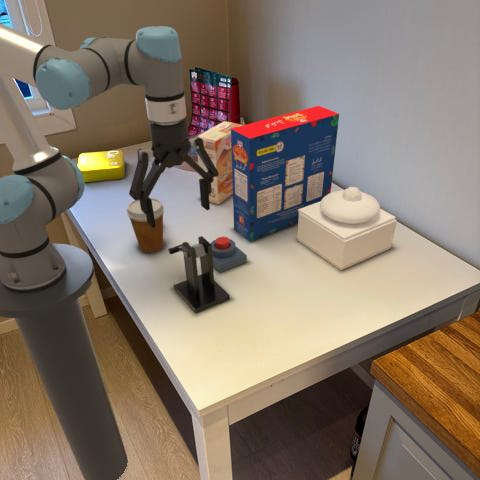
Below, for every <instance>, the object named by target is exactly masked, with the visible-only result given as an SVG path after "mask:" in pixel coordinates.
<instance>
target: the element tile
mask: <svg viewBox="0 0 480 480" xmlns="http://www.w3.org/2000/svg"><path fill="white" fill-rule="evenodd" d="M76 164H77V166H78V167H79V169H80V170H81V172H82V175H83V178H84V183H94V182H104V181H114V180H116V181H117V180H121V179H123V178H124V177H125V176H126V170H125V169H126V168H125V167H126V161H125V156H124V152H123V150H120V149H115V150H105V151H104V150H103V151H94V152H82V153H81V154H79V155H78V159H77V163H76Z"/></svg>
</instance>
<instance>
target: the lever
mask: <svg viewBox="0 0 480 480" xmlns="http://www.w3.org/2000/svg"><path fill="white" fill-rule="evenodd" d="M186 242H187V241H186ZM187 243H188V244H189V245H190V243H189V242H187ZM190 246H191V247H192V248H193V249H194V250H195V251H196V259H200V257H201V256H204V255H206V254H205V250H204V246H203V244H199V243H196V244H193V245H190ZM167 252H168V254H169V255H174V254H176V253H179V252H181V253H183V247H182V243H181V244H178V245H176V246H173V247H169V248H168V249H167Z"/></svg>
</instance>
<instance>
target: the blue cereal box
mask: <svg viewBox="0 0 480 480" xmlns="http://www.w3.org/2000/svg"><path fill="white" fill-rule="evenodd" d="M339 119H340V113H339V112H336V111H333V110H331V109H329V108H326V107H323V106H320V105H316V106H312V107H308V108H303V109H301V110H297V111H293V112H289V113H284V114H282V115H278V116H274V117H270V118H265V119H263V120H259V121H255V122H251V123H248V124H247V123H246V124H242V125H243V126H239V127H235V128H232V129H231V150H232V181H233V194H232V207H233V210H232V211H233V230H234V231H235V232H236V233H238V234H239V235H241V236H242V237H243V238H244V239H246V241H248V242H250V243H252V242H254V241H257V240H259V239H262V238H265V237H267V236H270V235H272V234H276V233H277V232H280V231H283V230H285V229H289V228H291V227H293V226H295V225H298V218H299V212H298V209H301V208H304V207H306V206H309V205H312V204H315V203H317V202H320V201H321V200H322V199H323V198H324V197H325V196H326V195H328V194H330V193H332V185H333V184H332V183H333V174H334V166H335V158H336V157H335V156H336V149H337V139H338V130H339Z"/></svg>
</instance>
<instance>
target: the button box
mask: <svg viewBox="0 0 480 480" xmlns="http://www.w3.org/2000/svg"><path fill="white" fill-rule="evenodd" d="M215 240H216V239H214V240H212V241H211V242H209V243H210V244H211V245H212V256H213V268H214V269H216V270H217V272H219V273H222V272H225V271H227V270H231V269H233V268H235V267H238V266H240V265H243V264H246V263H247V262H248V260H247V259H248V258H247V257H248V256H247V254H246V253H245V252H244V251H242V250H241V249H240V248H239V247H238V246H237V245H236V242H235V241H234V240H233V239H230V238H229V240H230V247H229V248H228V249H224V250H220V249H217V248H216V245H215Z"/></svg>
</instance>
